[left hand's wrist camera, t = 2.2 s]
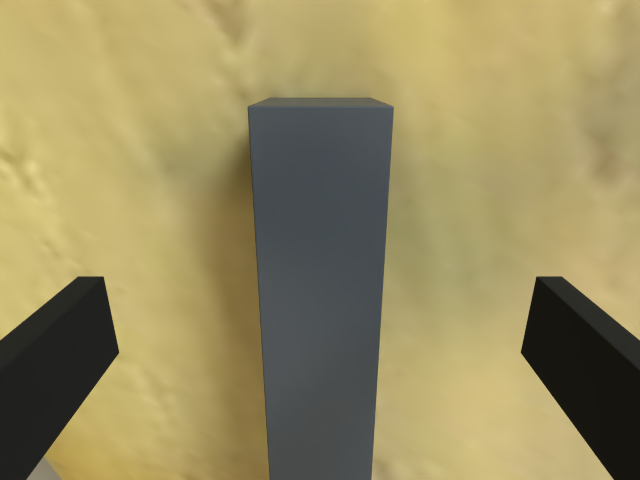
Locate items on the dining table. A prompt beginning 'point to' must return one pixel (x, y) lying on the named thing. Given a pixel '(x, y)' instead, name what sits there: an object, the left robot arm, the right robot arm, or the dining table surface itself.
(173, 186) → the dining table surface
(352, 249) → the beam
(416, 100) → the dining table surface
